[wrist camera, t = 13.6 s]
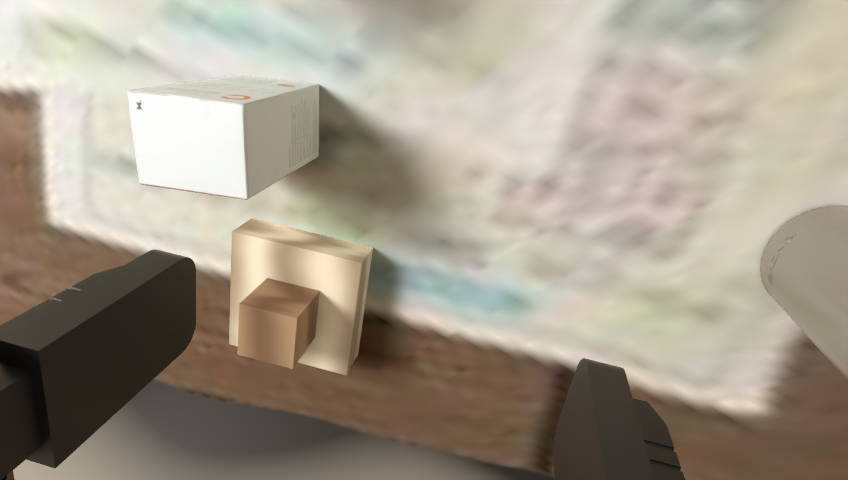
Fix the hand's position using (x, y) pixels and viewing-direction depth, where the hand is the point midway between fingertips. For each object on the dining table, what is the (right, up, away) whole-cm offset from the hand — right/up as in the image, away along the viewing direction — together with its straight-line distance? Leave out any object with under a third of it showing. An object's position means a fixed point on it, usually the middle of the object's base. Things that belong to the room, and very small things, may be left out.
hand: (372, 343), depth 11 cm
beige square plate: (-10, -2, +41) cm, 42 cm away
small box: (-12, +13, +35) cm, 39 cm away
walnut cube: (-11, -4, +37) cm, 39 cm away
